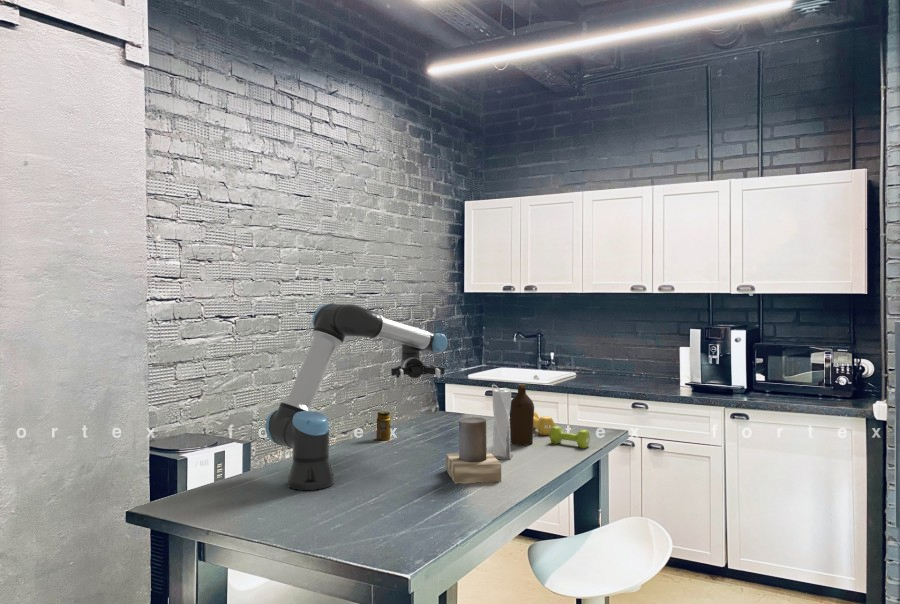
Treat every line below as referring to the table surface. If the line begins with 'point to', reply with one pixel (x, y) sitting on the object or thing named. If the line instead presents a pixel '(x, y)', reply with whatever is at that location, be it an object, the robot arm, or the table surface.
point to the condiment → (383, 427)
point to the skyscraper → (501, 423)
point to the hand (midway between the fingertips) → (421, 374)
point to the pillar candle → (472, 439)
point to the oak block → (473, 469)
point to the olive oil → (521, 418)
